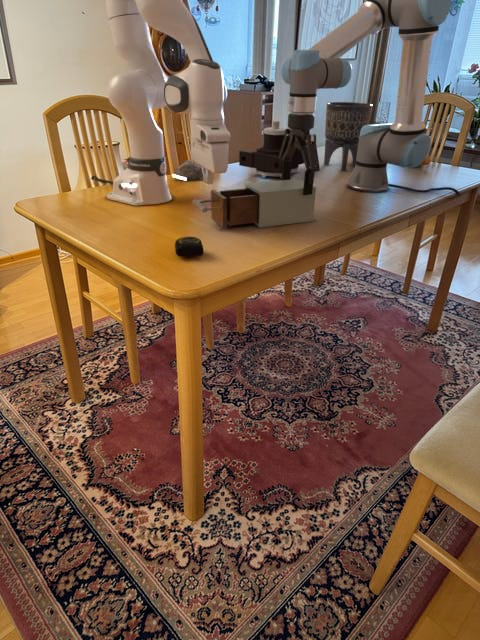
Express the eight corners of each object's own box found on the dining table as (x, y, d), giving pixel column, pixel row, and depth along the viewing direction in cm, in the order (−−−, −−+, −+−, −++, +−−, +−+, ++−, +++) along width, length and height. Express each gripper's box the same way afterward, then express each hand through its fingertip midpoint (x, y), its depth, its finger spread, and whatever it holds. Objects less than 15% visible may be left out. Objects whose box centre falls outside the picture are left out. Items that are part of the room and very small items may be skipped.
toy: (405, 159, 210) (400, 152, 223) (408, 173, 213) (402, 165, 226) (431, 151, 207) (424, 145, 219) (433, 165, 210) (426, 158, 222)
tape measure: (175, 260, 111) (175, 246, 109) (175, 250, 116) (174, 236, 115) (203, 259, 112) (203, 245, 110) (201, 249, 117) (201, 235, 116)
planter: (313, 167, 208) (319, 103, 195) (331, 160, 222) (338, 101, 209) (353, 173, 199) (362, 107, 185) (369, 166, 213) (379, 104, 199)
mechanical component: (240, 120, 182) (283, 115, 202) (239, 174, 192) (280, 164, 212) (283, 126, 170) (325, 120, 190) (280, 183, 180) (320, 171, 200)
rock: (199, 173, 191) (199, 157, 188) (212, 178, 186) (211, 161, 182) (172, 178, 184) (171, 161, 180) (185, 183, 178) (184, 165, 175)
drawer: (203, 230, 128) (202, 200, 123) (192, 220, 135) (191, 191, 131) (276, 221, 136) (277, 193, 131) (262, 212, 143) (263, 185, 139)
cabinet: (259, 227, 134) (260, 192, 128) (244, 216, 142) (245, 183, 137) (312, 221, 140) (316, 187, 135) (295, 211, 149) (297, 178, 143)
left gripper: (184, 125, 127) (186, 176, 134) (209, 136, 111) (210, 193, 118) (205, 124, 129) (206, 174, 136) (232, 135, 113) (232, 191, 120)
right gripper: (270, 109, 136) (267, 180, 147) (313, 119, 117) (306, 200, 128) (291, 108, 139) (287, 178, 150) (337, 117, 119) (329, 198, 130)
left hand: (208, 183), depth 127 cm, fingers closed
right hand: (296, 189), depth 139 cm, fingers open, 13 cm apart
